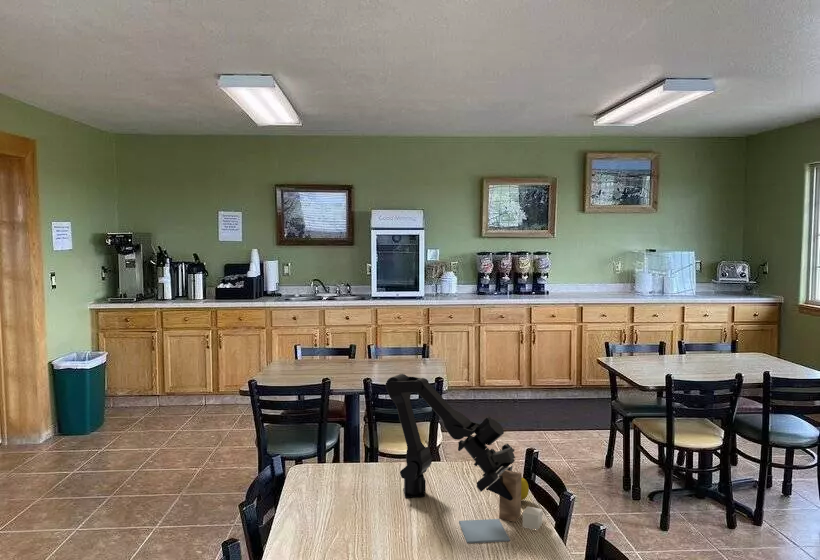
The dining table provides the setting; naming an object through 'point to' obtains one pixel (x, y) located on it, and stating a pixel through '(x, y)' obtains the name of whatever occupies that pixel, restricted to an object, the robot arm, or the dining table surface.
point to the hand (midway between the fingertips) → (514, 496)
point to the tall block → (513, 507)
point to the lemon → (524, 488)
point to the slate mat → (483, 531)
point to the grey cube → (532, 518)
